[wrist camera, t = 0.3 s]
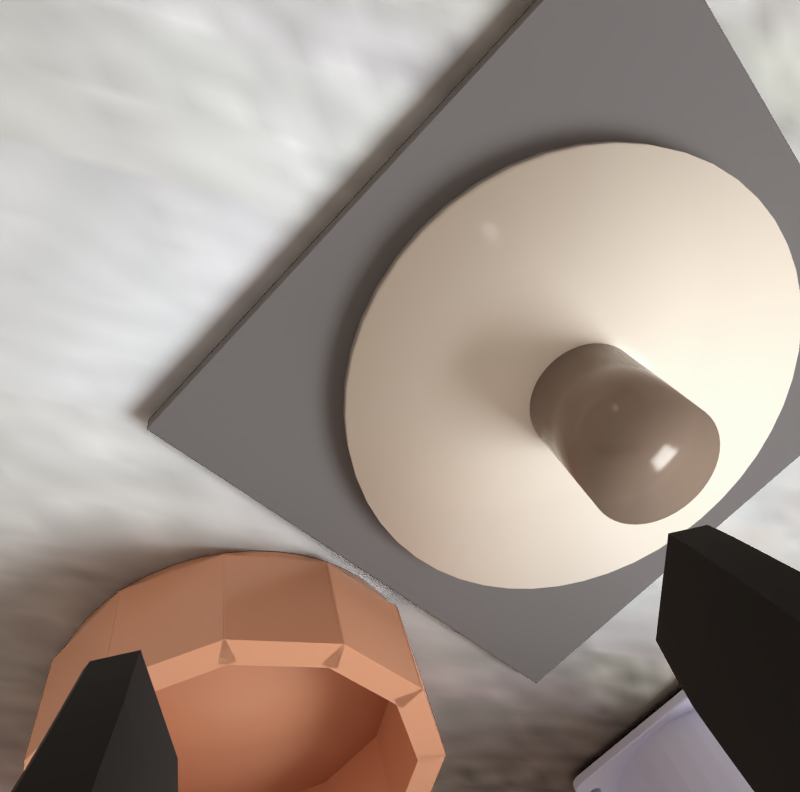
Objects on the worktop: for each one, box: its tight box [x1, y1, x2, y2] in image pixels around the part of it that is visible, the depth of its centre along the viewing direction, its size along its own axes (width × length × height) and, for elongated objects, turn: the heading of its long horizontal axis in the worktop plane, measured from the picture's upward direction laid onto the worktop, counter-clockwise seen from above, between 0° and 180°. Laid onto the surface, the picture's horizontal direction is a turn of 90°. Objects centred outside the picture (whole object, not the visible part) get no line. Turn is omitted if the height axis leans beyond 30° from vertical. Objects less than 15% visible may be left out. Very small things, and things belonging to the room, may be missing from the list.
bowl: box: [24, 551, 446, 792], centre depth 20 cm, size 11×11×4 cm
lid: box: [343, 141, 800, 589], centre depth 18 cm, size 13×13×4 cm
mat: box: [147, 0, 800, 683], centre depth 20 cm, size 16×16×1 cm
